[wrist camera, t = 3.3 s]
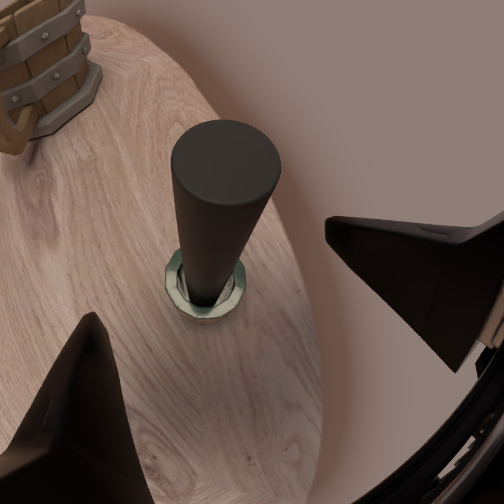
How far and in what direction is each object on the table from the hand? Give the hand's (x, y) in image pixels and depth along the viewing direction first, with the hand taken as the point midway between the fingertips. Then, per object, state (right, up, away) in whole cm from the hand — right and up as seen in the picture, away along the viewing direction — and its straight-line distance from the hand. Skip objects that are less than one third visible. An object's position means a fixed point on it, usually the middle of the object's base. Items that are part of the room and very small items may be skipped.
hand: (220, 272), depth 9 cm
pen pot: (-2, -2, +9) cm, 9 cm away
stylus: (-2, -2, +8) cm, 9 cm away
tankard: (-21, +14, +11) cm, 28 cm away
